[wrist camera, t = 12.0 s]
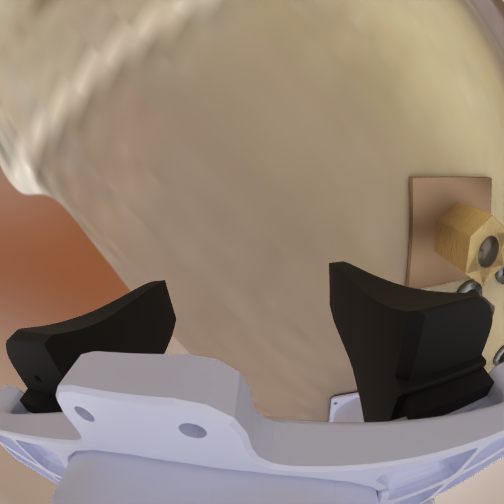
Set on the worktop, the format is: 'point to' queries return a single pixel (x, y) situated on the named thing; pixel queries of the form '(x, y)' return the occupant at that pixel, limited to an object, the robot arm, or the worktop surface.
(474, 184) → the board
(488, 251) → the brass nut
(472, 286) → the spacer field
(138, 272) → the worktop surface
